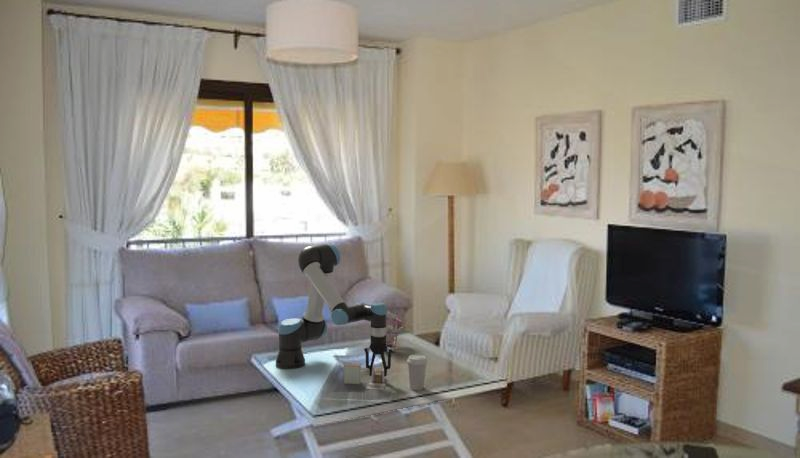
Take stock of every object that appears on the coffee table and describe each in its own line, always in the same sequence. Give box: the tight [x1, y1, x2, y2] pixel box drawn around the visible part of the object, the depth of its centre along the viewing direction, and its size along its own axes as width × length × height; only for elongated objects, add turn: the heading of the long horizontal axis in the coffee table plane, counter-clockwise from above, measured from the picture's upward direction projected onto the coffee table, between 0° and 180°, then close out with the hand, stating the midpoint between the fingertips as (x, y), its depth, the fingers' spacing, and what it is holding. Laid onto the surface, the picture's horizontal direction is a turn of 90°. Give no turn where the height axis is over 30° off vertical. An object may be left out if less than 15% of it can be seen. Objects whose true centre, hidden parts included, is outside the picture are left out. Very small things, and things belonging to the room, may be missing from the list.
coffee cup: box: [406, 354, 428, 391], centre depth 315 cm, size 10×10×15 cm
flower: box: [368, 309, 409, 353], centre depth 380 cm, size 20×22×25 cm
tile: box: [343, 363, 362, 384], centre depth 319 cm, size 2×8×9 cm, turn 85°
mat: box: [333, 381, 368, 393], centre depth 315 cm, size 13×14×1 cm
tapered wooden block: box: [366, 367, 387, 391], centre depth 320 cm, size 18×8×5 cm, turn 175°
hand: (378, 382), depth 322 cm, fingers open, 4 cm apart
